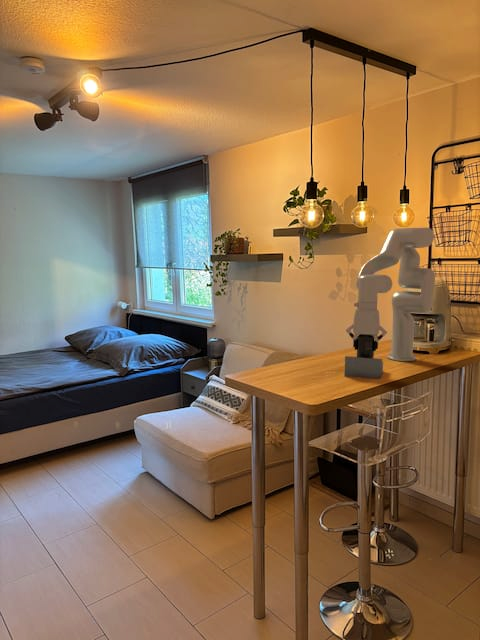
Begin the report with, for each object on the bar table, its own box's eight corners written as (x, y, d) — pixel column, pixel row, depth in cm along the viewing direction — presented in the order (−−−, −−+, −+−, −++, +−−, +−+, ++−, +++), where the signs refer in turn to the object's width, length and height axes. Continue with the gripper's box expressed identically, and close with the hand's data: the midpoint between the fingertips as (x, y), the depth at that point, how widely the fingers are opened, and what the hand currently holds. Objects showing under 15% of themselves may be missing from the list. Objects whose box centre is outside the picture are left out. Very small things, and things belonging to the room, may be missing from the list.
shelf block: (348, 368, 198) (349, 349, 197) (382, 371, 193) (383, 352, 192) (344, 376, 185) (345, 356, 184) (380, 379, 180) (382, 359, 179)
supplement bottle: (374, 356, 191) (376, 327, 189) (372, 360, 185) (373, 330, 183) (358, 355, 194) (359, 326, 192) (354, 358, 188) (356, 329, 186)
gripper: (344, 306, 186) (342, 350, 188) (389, 308, 180) (387, 353, 182) (346, 304, 193) (344, 346, 195) (390, 306, 187) (388, 349, 189)
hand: (365, 349), depth 189 cm, fingers closed on supplement bottle, 6 cm apart
